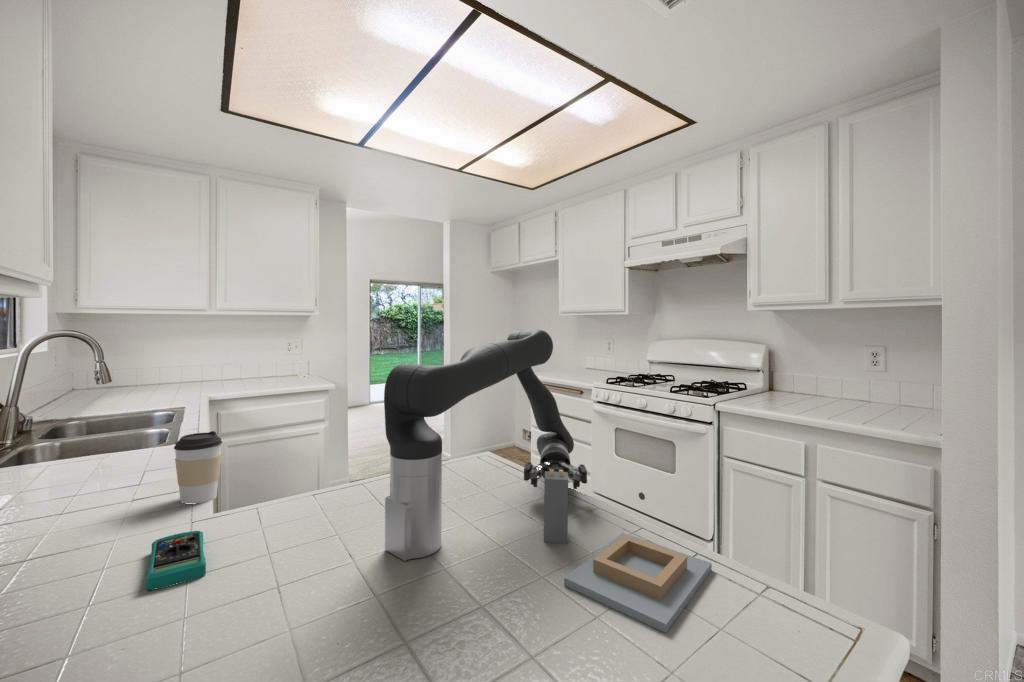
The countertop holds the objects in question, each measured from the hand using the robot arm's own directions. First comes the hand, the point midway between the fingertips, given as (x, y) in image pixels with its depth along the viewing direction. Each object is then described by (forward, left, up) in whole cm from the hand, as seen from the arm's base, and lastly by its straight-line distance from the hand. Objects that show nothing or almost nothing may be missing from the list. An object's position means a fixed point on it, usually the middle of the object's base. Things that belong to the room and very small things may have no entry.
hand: (555, 483), depth 92 cm
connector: (-8, -6, -7) cm, 12 cm away
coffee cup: (-48, +66, -7) cm, 82 cm away
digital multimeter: (-58, +36, -8) cm, 69 cm away
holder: (-10, -24, -7) cm, 26 cm away
